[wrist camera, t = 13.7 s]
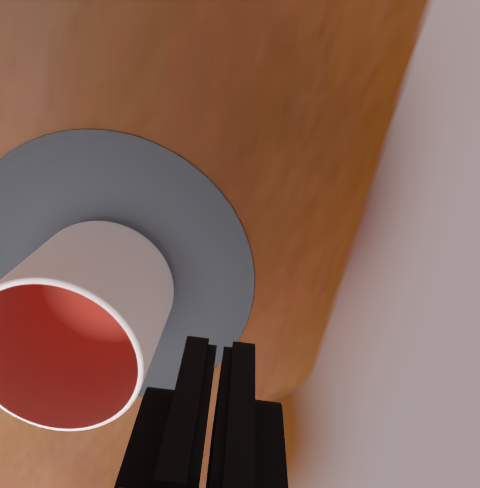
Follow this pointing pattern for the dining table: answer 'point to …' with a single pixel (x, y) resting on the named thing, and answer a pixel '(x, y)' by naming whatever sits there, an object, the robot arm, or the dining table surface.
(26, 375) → the cup
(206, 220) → the mat
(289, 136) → the dining table surface
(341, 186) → the dining table surface
